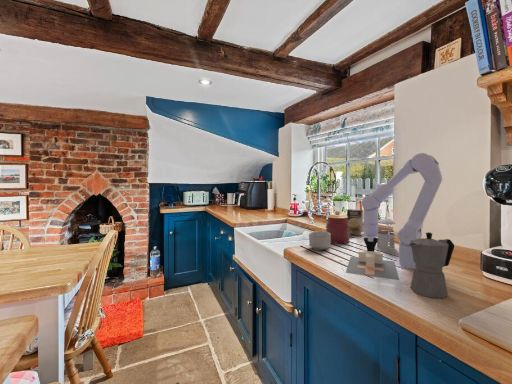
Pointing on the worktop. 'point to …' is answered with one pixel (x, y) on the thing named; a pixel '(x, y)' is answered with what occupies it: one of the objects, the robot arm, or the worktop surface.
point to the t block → (371, 258)
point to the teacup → (319, 240)
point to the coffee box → (355, 221)
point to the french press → (386, 236)
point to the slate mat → (373, 269)
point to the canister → (338, 227)
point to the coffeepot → (430, 266)
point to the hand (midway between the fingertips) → (370, 254)
